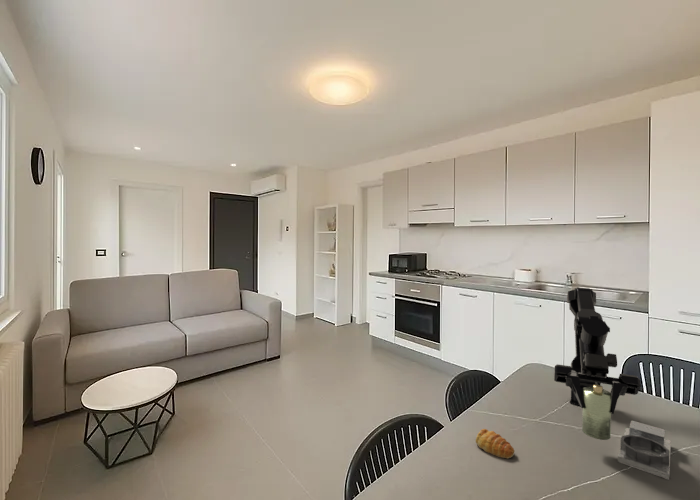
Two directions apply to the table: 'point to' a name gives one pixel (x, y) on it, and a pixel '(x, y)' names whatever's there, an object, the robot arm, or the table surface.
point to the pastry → (494, 444)
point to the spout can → (596, 412)
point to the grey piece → (646, 449)
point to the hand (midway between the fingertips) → (597, 410)
